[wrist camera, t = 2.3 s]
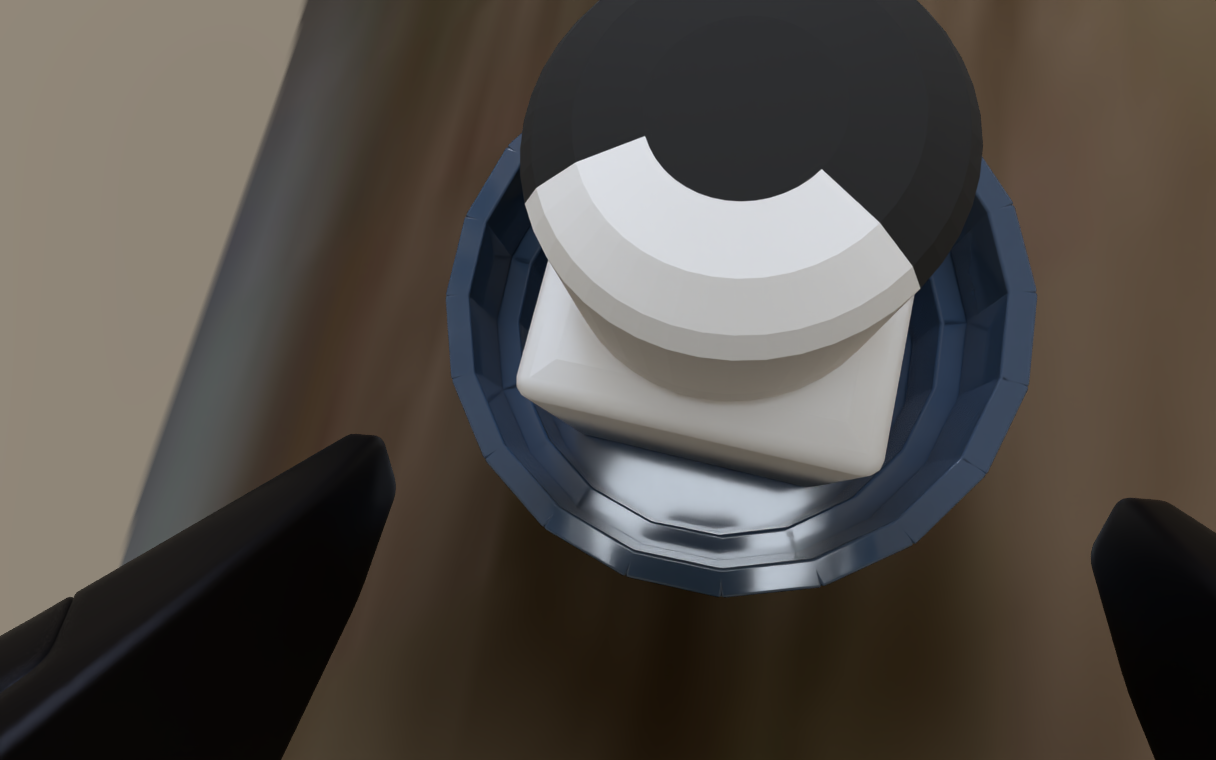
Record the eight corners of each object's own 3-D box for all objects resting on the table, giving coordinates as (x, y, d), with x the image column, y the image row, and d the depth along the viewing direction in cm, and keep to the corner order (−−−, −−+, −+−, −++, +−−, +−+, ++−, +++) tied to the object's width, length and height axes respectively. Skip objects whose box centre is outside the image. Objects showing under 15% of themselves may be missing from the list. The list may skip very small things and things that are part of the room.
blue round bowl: (921, 619, 18) (1004, 660, 13) (463, 520, 20) (388, 525, 15) (973, 170, 20) (1060, 62, 15) (553, 125, 22) (512, 18, 17)
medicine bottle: (630, 213, 21) (542, -159, 9) (862, 253, 20) (1100, -117, 8) (574, 432, 20) (395, 324, 8) (816, 490, 19) (1013, 460, 7)
